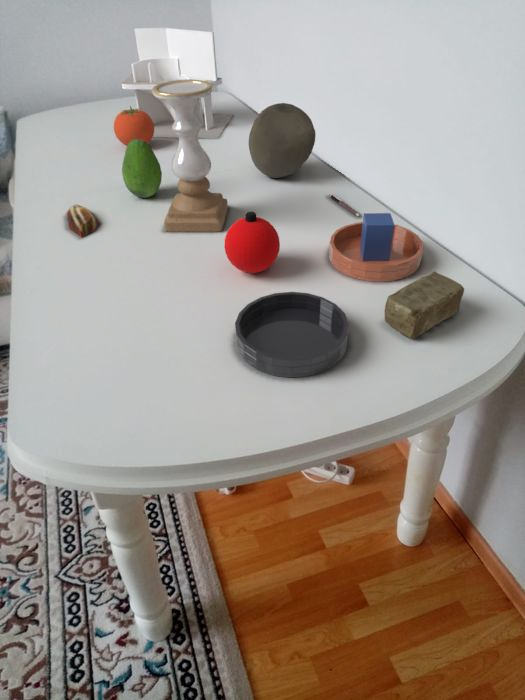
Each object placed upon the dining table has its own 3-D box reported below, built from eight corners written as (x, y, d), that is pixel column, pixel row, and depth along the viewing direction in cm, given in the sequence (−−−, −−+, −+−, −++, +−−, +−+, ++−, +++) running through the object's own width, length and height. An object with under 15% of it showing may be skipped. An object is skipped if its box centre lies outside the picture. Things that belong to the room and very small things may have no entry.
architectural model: (118, 136, 143) (99, 39, 128) (142, 114, 159) (127, 25, 144) (218, 138, 140) (209, 38, 125) (232, 115, 156) (226, 24, 141)
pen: (328, 197, 108) (328, 192, 108) (331, 196, 109) (331, 191, 108) (357, 218, 100) (358, 213, 100) (361, 217, 101) (361, 212, 100)
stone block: (379, 324, 74) (383, 295, 71) (429, 295, 79) (435, 266, 76) (412, 344, 70) (418, 314, 67) (462, 311, 76) (469, 282, 73)
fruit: (156, 204, 108) (146, 146, 100) (121, 202, 109) (108, 144, 102) (170, 189, 114) (161, 133, 106) (136, 187, 115) (125, 131, 107)
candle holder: (228, 207, 106) (218, 77, 91) (221, 231, 97) (209, 94, 82) (175, 207, 107) (157, 79, 91) (164, 231, 98) (142, 95, 83)
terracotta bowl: (438, 257, 88) (441, 241, 86) (382, 292, 80) (385, 276, 78) (367, 228, 97) (368, 213, 95) (311, 258, 89) (311, 242, 87)
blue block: (385, 248, 90) (390, 213, 86) (389, 261, 86) (394, 225, 82) (360, 248, 90) (363, 213, 86) (362, 261, 87) (366, 225, 82)
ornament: (290, 265, 87) (291, 209, 81) (257, 289, 82) (255, 231, 76) (249, 250, 92) (246, 196, 85) (215, 272, 86) (209, 216, 80)
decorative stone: (56, 211, 107) (54, 203, 105) (83, 205, 109) (81, 197, 108) (76, 238, 97) (74, 230, 96) (105, 231, 99) (103, 222, 98)
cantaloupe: (266, 192, 111) (264, 118, 101) (241, 170, 121) (237, 101, 111) (324, 180, 115) (327, 108, 106) (295, 160, 125) (296, 93, 116)
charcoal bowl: (369, 340, 71) (372, 323, 69) (291, 395, 64) (291, 377, 62) (291, 296, 80) (291, 280, 78) (214, 340, 72) (212, 323, 70)
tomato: (111, 146, 137) (102, 105, 131) (146, 137, 142) (139, 98, 135) (128, 156, 131) (119, 114, 124) (164, 147, 135) (158, 106, 129)
